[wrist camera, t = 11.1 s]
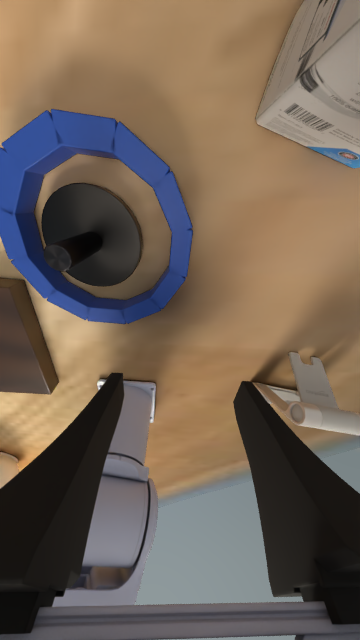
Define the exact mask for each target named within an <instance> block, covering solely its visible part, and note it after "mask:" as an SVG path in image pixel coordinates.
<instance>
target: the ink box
mask: <svg viewBox="0 0 360 640" xmlns="http://www.w3.org/2000/svg"><path fill="white" fill-rule="evenodd" d="M256 121H257V124H258V125H260V126H262V127H265V128H267V129H269V130H271V131H273V132H275V133H278V134H280V135H282V136H284V137H286V138H288V139H291V140H293V141H295V142H297V143H299V144H301V145H304V146H306V147H308V148H310V149H312V150H314V151H317V152H319V153H321V154H323V155H325V156H328V157H330V158H332V159H334V160H336V161H339V162H341V163H343V164H345V165H347V166H349V167H351V168H359V167H360V0H304V1H303V3H302V5H301V6H300V8H299V9H298V11H297V13H296V15H295V17H294V19H293V22H292V24H291V26H290V28H289V30H288V33H287V35H286V37H285V40H284V42H283V45H282V47H281V50H280V52H279V54H278V57H277V60H276V62H275V65H274V67H273V70H272V73H271V75H270V78H269V81H268V84H267V86H266V89H265V92H264V95H263V98H262V101H261V104H260V106H259V109H258V112H257V115H256Z"/></svg>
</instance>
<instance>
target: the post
mask: <svg viewBox="0 0 360 640" xmlns="http://www.w3.org/2000/svg"><path fill="white" fill-rule="evenodd" d="M41 223H42V232H43V237H44V240H45V243H46V247H45V249H44V258H45V261H46V262H47V264H48V265H49V266H50V267H52V268H53V269H55V270H57V271H66V272H67V273H68V274H69V275H71V276H72V277H74V278H75V279H77V280H79V281H81V282H84V283H86V284H90V285H94V286H112V285H116V284H118V283H121V282H122V281H124V280H125V279H127V278H128V277H129V276H130V275H131V274H132V273H133V271H134V270H135V269H136V267H137V265H138V263H139V261H140V258H141V254H142V235H141V231H140V227H139V225H138V222H137V220H136V218H135V216H134V214H133V213H132V211H131V210H130V209H129V207H128V206H127V205H126V204H125V203H124V202H123V201H122V200H121V199H120V198H119V197H118V196H116V195H115V194H113V193H112V192H110V191H109V190H107V189H105V188H102V187H99V186H96V185H91V184H86V183H74V184H69V185H65V186H63V187H61V188H59V189H58V190H56V191H55V192H54V193H53V194H52V195H51V196H50V197H49V199H48V200H47V202H46V204H45V207H44V209H43V213H42V222H41Z"/></svg>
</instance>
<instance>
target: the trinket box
mask: <svg viewBox="0 0 360 640" xmlns="http://www.w3.org/2000/svg"><path fill="white" fill-rule="evenodd" d="M17 463H18V459H17V458H16V457H14V456H12V455H10V454H7V453H3V452H0V488H2V487H3V486H4V485H5V484H6V483H8V482H9V481H10V480H11V479H12V478H13V477H15V476H16V475H17V474H18V473H19V467H18V464H17Z"/></svg>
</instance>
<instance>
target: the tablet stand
mask: <svg viewBox="0 0 360 640" xmlns="http://www.w3.org/2000/svg"><path fill="white" fill-rule="evenodd" d="M288 355H289V359H290V363H291V366H292V370H293V374H294V378H295V382H296V386H297V390H298V391H297V390H295V391H294V390H289V389H284V388H279V387H274V386H269V385H264V384H262V383H257V382H256V383H255V382H252V383H253V384H254V385H255V387H256V388H257V389H258V390H259V392H260V393H261V394H262V395H263V397H264V398H265V399H266V401H267V402H268V403H270V404H271V403H273V404H274V405H275V406H276V407H277V408H278V409H279V410H280V411H281V412H282V413H283V414H284V415H285V416H287V417H288V418H289V419H290V420H291V421H292V422H293V423H294V424H296V425H300V426H306V427H312V428H318V429H324V430H330V431H336V432H341V433H347V434H353V435H359V436H360V413H355V412H350V411H345V410H340V409H339V408H338V406H337V403H336V400H335V398H334V395H333V392H332V389H331V387H330V384H329V381H328V378H327V376H326V373H325V370H324V367H323V364H322V361H321V360H320V359H319V358H316V357H310V358H311V364H312V365H308V364H304V363H302V361H301V359H300V356H299V354H298V353H295V352H289V354H288Z"/></svg>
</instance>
